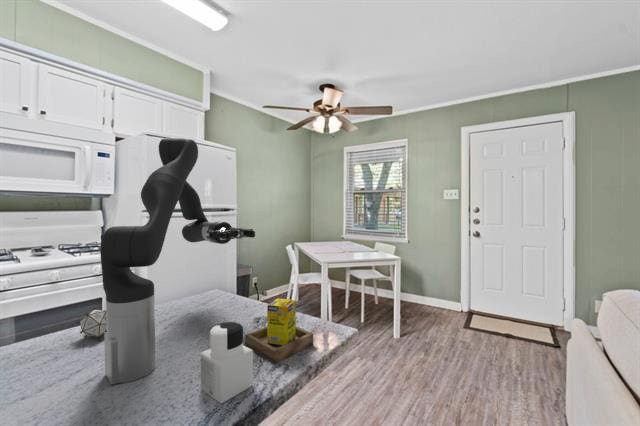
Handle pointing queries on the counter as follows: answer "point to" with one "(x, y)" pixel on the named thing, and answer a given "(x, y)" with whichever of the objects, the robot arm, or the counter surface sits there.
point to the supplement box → (281, 322)
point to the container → (226, 363)
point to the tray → (276, 354)
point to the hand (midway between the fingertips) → (242, 234)
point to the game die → (94, 323)
